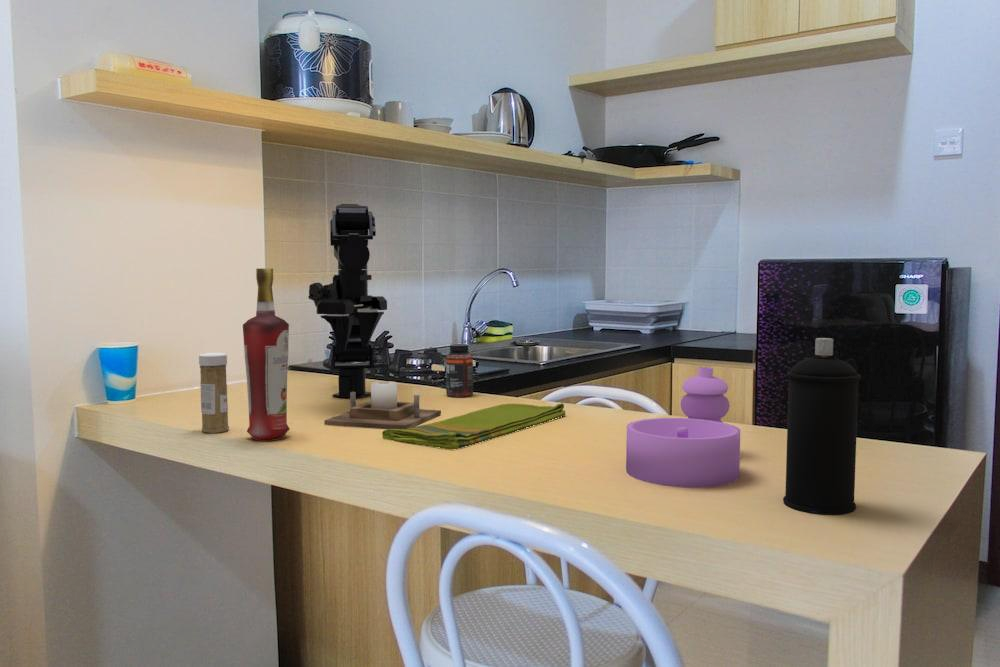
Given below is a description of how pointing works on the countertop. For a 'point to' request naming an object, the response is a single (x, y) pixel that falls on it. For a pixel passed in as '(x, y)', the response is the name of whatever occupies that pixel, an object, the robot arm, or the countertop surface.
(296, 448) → the countertop surface
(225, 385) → the spice jar
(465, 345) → the supplement bottle
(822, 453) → the aerosol can
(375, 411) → the holder
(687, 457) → the container set
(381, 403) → the roll
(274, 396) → the liquor
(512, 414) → the dish towel
